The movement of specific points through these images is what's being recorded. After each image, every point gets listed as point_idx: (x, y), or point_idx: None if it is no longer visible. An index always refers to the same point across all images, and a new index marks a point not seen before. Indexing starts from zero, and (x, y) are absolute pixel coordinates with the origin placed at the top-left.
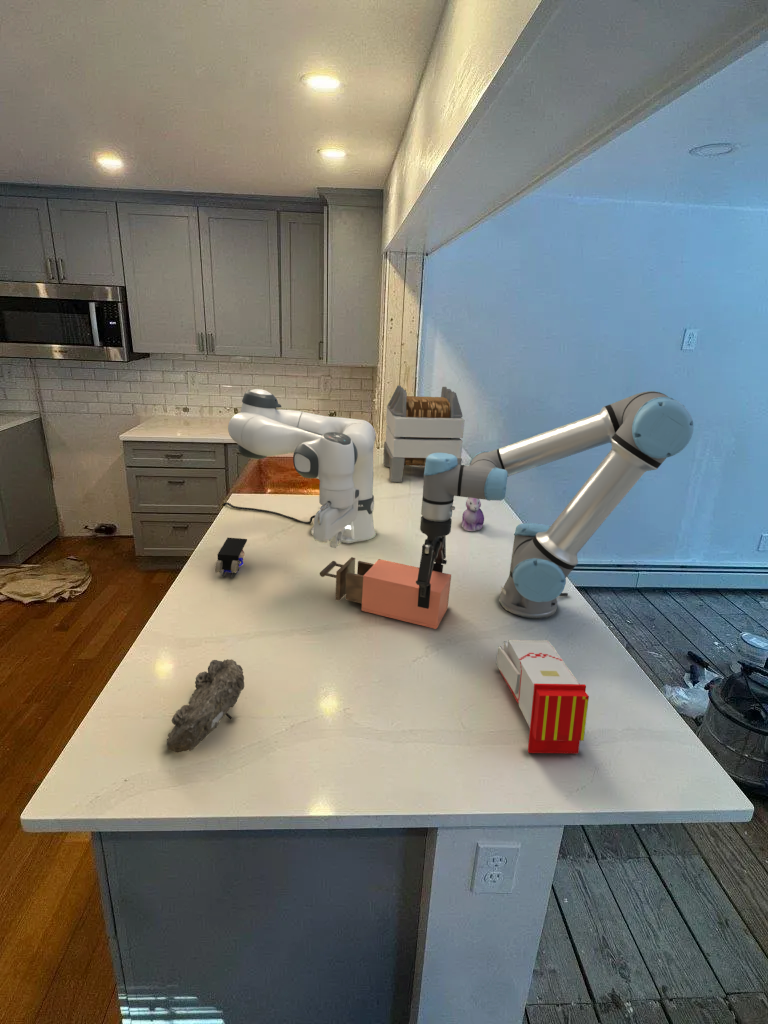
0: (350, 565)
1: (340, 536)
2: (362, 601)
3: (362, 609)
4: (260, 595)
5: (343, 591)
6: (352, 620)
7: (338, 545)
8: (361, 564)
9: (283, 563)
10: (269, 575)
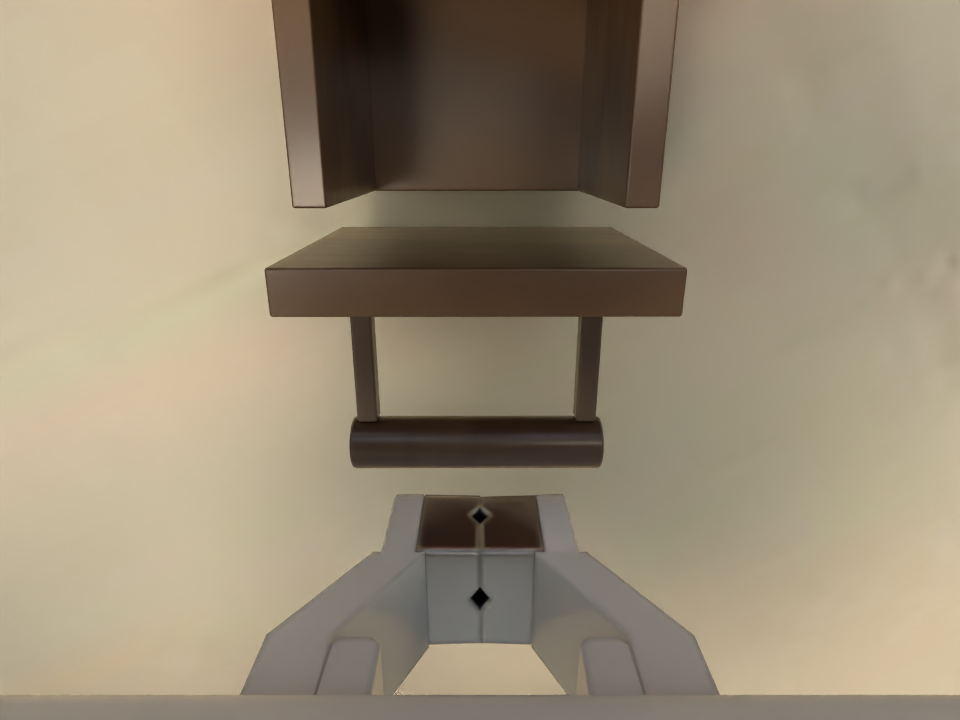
0: (411, 262)
1: (397, 587)
2: None
3: None
4: None
5: (549, 232)
6: (762, 49)
7: (491, 497)
8: (327, 158)
9: None
10: None
